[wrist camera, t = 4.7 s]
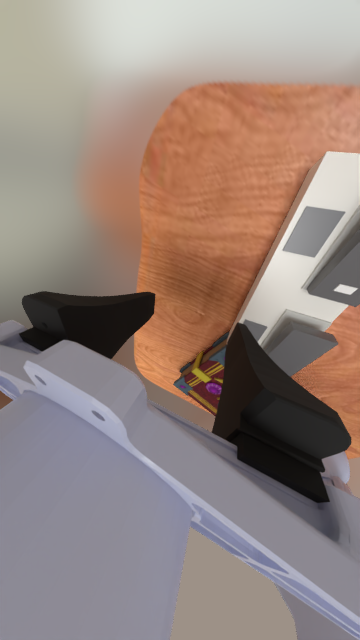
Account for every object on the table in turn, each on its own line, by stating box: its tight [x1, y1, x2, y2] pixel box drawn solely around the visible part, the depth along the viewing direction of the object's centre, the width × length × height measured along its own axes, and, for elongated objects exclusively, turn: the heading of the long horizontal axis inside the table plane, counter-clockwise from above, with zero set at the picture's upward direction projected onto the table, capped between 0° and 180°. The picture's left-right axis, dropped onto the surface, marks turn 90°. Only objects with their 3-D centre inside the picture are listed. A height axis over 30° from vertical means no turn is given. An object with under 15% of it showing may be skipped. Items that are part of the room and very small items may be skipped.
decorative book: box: [173, 332, 229, 416], centre depth 25 cm, size 11×16×5 cm
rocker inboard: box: [264, 322, 338, 376], centre depth 15 cm, size 4×8×1 cm, turn 169°
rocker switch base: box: [227, 151, 360, 350], centre depth 15 cm, size 8×20×3 cm, turn 169°
